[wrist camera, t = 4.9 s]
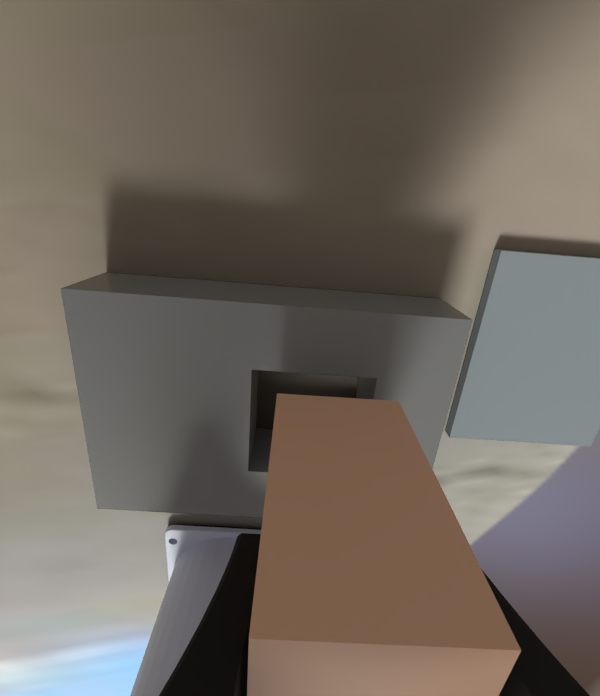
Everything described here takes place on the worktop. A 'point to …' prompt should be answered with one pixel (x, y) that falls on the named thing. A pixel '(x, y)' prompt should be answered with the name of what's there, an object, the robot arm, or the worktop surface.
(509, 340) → the mat
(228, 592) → the robot arm
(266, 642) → the plug
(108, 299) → the plate
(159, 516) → the worktop surface
